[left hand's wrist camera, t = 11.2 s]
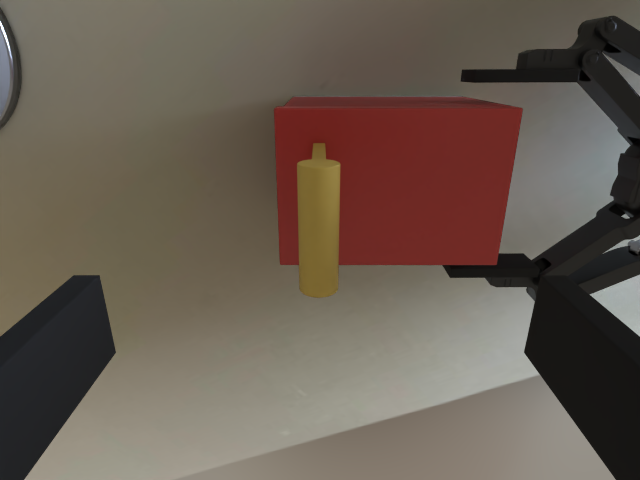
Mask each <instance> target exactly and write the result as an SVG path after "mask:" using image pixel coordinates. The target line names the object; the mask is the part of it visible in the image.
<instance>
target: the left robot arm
mask: <svg viewBox="0 0 640 480" xmlns="http://www.w3.org/2000/svg"><path fill="white" fill-rule="evenodd" d="M20 87H21V64H20V57H19V52H18V48H17V44H16V41H15V38H14V35H13V32H12V30H11V27H10V25H9V23H8V21H7V19H6V17H5V15H4V13H3V11H2V10H1V8H0V129H1V128H2V127H3V126H4V125H5V124H6V123H7V121H8V120H9V118H10V117H11V115H12V113H13V111H14V109H15V107H16V104H17V101H18V98H19V93H20ZM115 353H116V351H115V346H114V341H113V337H112V332H111V327H110V323H109V318H108V313H107V309H106V304H105V299H104V294H103V290H102V285H101V280H100V276H99V275H74V276H72V277H71V278H70V279H69V280H68V281H66V282H65V283H64V284H63V285H62V286H60V287H59V288H58V289H57V290H56V291H54V292H53V293H52V294H51V295H50V296H48V297H47V298H46V299H45V300H44V301H42V302H41V303H40V304H39V305H38V306H37V307H35V308H34V309H33V310H32V311H31V312H29V313H28V314H27V315H26V316H25V317H23V318H22V319H21V320H20V321H19V322H17V323H16V324H15V325H14V326H13V327H11V328H10V329H9V330H8V331H7V332H5V333H4V334H3V335H2V336H1V337H0V480H24V479H25V478H26V476H27V475H28V473H29V472H30V471H31V469H32V468H33V467H34V465H35V464H36V462H37V461H38V460H39V458H40V457H41V455H42V454H43V453H44V451H45V450H46V449H47V447H48V446H49V444H50V443H51V442H52V440H53V439H54V437H55V436H56V435H57V433H58V432H59V431H60V429H61V428H62V426H63V425H64V424H65V422H66V421H67V419H68V418H69V417H70V415H71V414H72V413H73V411H74V410H75V408H76V407H77V406H78V404H79V403H80V401H81V400H82V399H83V397H84V396H85V394H86V393H87V392H88V390H89V389H90V388H91V386H92V385H93V383H94V382H95V381H96V379H97V378H98V376H99V375H100V374H101V372H102V371H103V370H104V368H105V367H106V365H107V364H108V363H109V361H110V360H111V358H112V357H113V356H114V354H115ZM524 353H525V354H526V356H527V357H528V358H529V360H530V361H531V363H532V364H533V365H534V367H535V368H536V370H537V371H538V372H539V374H540V375H541V376H542V378H543V379H544V381H545V382H546V383H547V385H548V386H549V388H550V389H551V390H552V392H553V393H554V394H555V396H556V397H557V399H558V400H559V401H560V403H561V404H562V406H563V407H564V408H565V410H566V411H567V413H568V414H569V415H570V417H571V418H572V419H573V421H574V422H575V424H576V425H577V426H578V428H579V429H580V431H581V432H582V433H583V435H584V436H585V437H586V439H587V440H588V442H589V443H590V444H591V446H592V447H593V449H594V450H595V451H596V453H597V454H598V455H599V457H600V458H601V460H602V461H603V462H604V464H605V465H606V466H607V468H608V469H609V471H610V472H611V473H612V475H613V476H614V478H615V479H616V480H640V337H639V336H638V335H637V334H636V333H635V332H633V331H632V330H631V329H630V328H629V327H627V326H626V325H625V324H624V323H623V322H621V321H620V320H619V319H618V318H617V317H615V316H614V315H613V314H612V313H611V312H609V311H608V310H607V309H606V308H605V307H603V306H602V305H601V304H600V303H599V302H597V301H596V300H595V299H594V298H593V297H592V296H590V295H589V294H588V293H587V292H586V291H584V290H583V289H582V288H581V287H580V286H578V285H577V284H576V283H575V282H574V281H572V280H571V279H570V278H569V277H568V276H566V275H541V276H540V280H539V285H538V290H537V294H536V299H535V304H534V309H533V313H532V318H531V323H530V327H529V332H528V337H527V341H526V346H525V351H524Z"/></svg>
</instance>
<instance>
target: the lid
mask: <svg viewBox="0 0 640 480" xmlns="http://www.w3.org/2000/svg"><path fill="white" fill-rule="evenodd" d="M522 111H523V109H522V108H519V107H514V106H277V107H276V108H274V123H275V149H276V175H277V201H278V227H279V253H280V265H299V286H300V291H301V292H302V293H303V294H305V295H307V296H310V297H318V298H320V297H328V296H331V295H333V294H335V293H336V292H337V290H338V268H339V265H496V264H497V260H498V254H499V248H500V242H501V236H502V230H503V224H504V218H505V212H506V206H507V200H508V194H509V188H510V182H511V176H512V171H513V165H514V159H515V153H516V147H517V141H518V135H519V129H520V123H521V117H522Z"/></svg>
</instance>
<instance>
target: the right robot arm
mask: <svg viewBox="0 0 640 480" xmlns="http://www.w3.org/2000/svg"><path fill="white" fill-rule="evenodd" d="M602 53H604V54H606V55H607V56H609V57H611V58H612V59H614V60H615V61H617V62H619V63H620V64H622V65H624V66H625V67H627V68H628V69H630V70H632V71H633V72H635V73H637V74H638V75H640V31H638V30H637V29H635V28H634V27H632V26H631V25H629V24H627V23H626V22H624V21H623V20H621V19H619V18H618V17H616V16H609V17H603V18H597V19H592V20H587V21H585V22H583V23H582V24H581V25H580V26H579V29H578V38H577V40H576V41H575V43H574V44H573V45H572V46H571V47H570V48H568V49H535V50H526V51H524V52H521V53H519V54H518V60H517V67H516V69H485V70H462V74H461V81H462V82H474V83H477V82H577V83H578V84H579V85H580V86H581V87H582V88H583V89H584V90H585V91H586V93H587V94H588V95H589V96H590V97H591V98H592V99H593V100H594V101H595V102H596V104H597V105H598V106H599V107H600V108H601V109H602V110H603V111H604V112H605V113H606V115H607V116H608V117H609V118H610V119H611V120H612V121H613V122H614V123H615V125H616V126H617V127H618V129H617V130H618V132H619V133H620V134H621V135H622V136H623V137H624V138H625V140H626V141H627V142H628V143H629V144H630V145H631V146H630V147H629V148H628V149H627V150H626V152H625V153H621V154H620V158H619V162H618V176H617V178H616V180H615V182H614V183H613V185H612V189H611V193H610V195H611V196H613V197H614V200H613V201H612V202H610V203H609V204H608V205H606V206H605V207H603V208H602V209H600V210H599V211H598V212H597V215H596V217H595V218H594V219H592V220H591V221H589V222H588V223H586V224H585V225H583V226H582V227H580V228H579V229H577V230H576V231H574V232H573V233H571V234H570V235H568V236H567V237H565V238H564V239H562V240H561V241H560V242H558V243H557V244H555V245H554V246H552V247H551V248H549V249H548V250H546V251H545V252H543V253H542V254H540V255H539V256H537V257H536V258H534V259H533V260H530V259H529V258H528V257H527V256H526V255H524V254H498V260H497V264H496V265H443V267H444V269H445V270H446V272H447V273H448V275H449V277H450V278H485V279H486V280H487V281H488V282H489V284H490V285H492V286H495V287H527V289H526V290H527V293H528V294H529V295H530V296H531V298H532V299H533V300H534V301H535V299H536V294H537V290H538V285H539V280H540V276H541V275H566V276H568V277H569V278H570V279H571V280H572V281H574V282H575V283H576V284H577V285H578V286H580V287H581V288H582V289H583V290H584V291H586V292H587V293H588V294H592V293H594V292H597V291H599V290H602V289H604V288H607V287H609V286H612V285H614V284H617V283H619V282H622V281H624V280H627V279H629V278H632V277H634V276H637V275H639V274H640V240H637V241H634V240H631V241H629V242H628V246H625V247H620V248H617V249H614V250H611V251H608V252H606V253H604V252H605V251H607V250H609V249H610V248H612V247H613V246H615V245H616V244H618V243H619V242H621V241H623V240H625V239H633V238H636V237H637V236H639V235H640V96H639V95H638V94H637V93H636V92H635V91H634V89H633V88H632V87H631V86H630V85H629V84H628V82H627V81H626V80H625V79H624V78H623V77H622V76H621V74H620V73H619V72H618V71H617V70H616V69H615V67H614V66H613V65H612V64H611V63H610V62H609V61H608V59H607V58H606V57H605V56H604V55H603V54H602ZM624 214H626V215H628V216H629V217H630V219H625V218H623V217H621V216H622V215H624ZM602 253H604V254H602Z"/></svg>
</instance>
